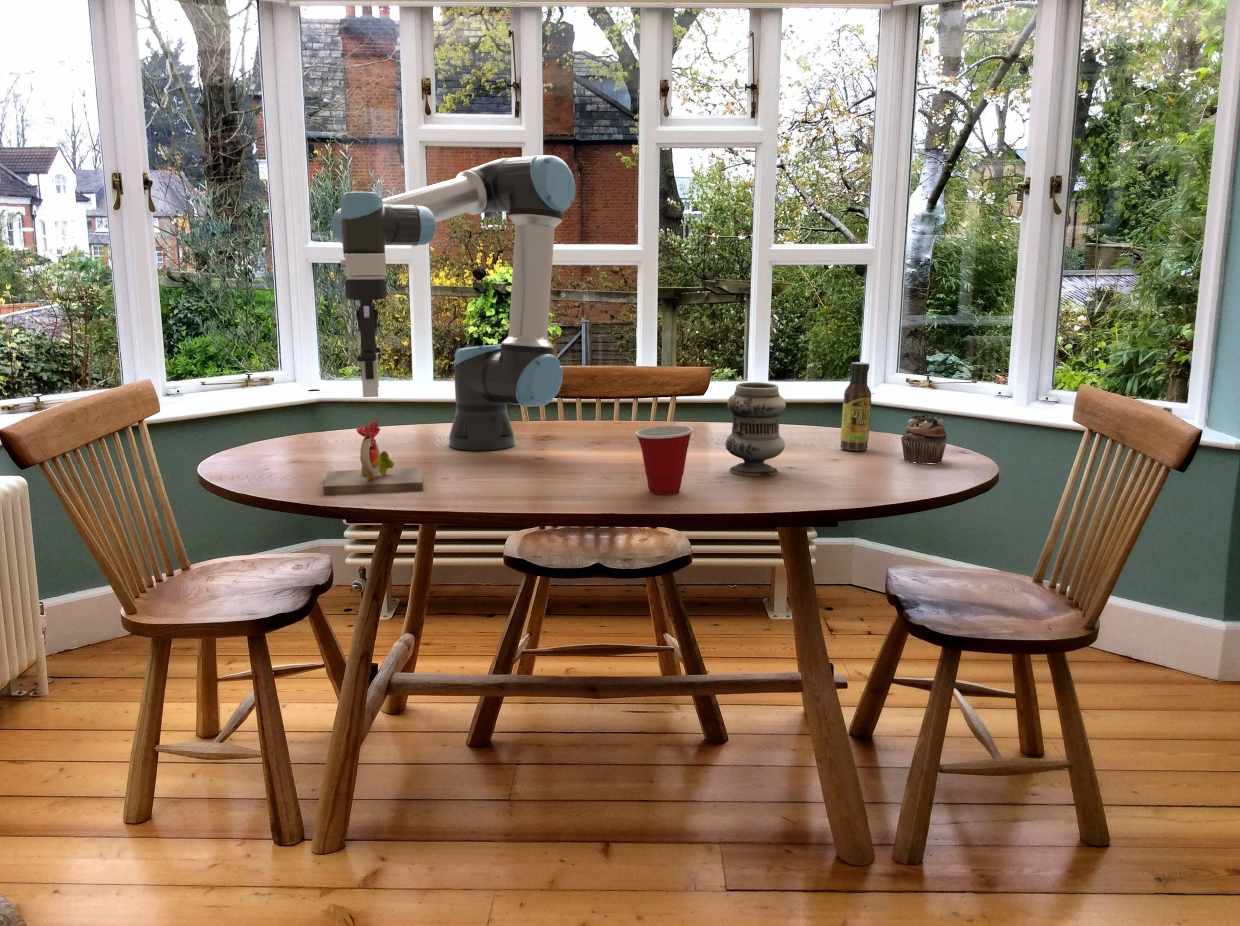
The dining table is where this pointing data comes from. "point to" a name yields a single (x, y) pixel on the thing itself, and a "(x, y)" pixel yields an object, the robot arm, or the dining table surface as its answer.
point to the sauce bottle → (856, 410)
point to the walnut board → (373, 481)
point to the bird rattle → (372, 452)
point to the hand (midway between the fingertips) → (371, 392)
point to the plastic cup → (664, 456)
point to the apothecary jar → (755, 427)
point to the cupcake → (924, 440)
